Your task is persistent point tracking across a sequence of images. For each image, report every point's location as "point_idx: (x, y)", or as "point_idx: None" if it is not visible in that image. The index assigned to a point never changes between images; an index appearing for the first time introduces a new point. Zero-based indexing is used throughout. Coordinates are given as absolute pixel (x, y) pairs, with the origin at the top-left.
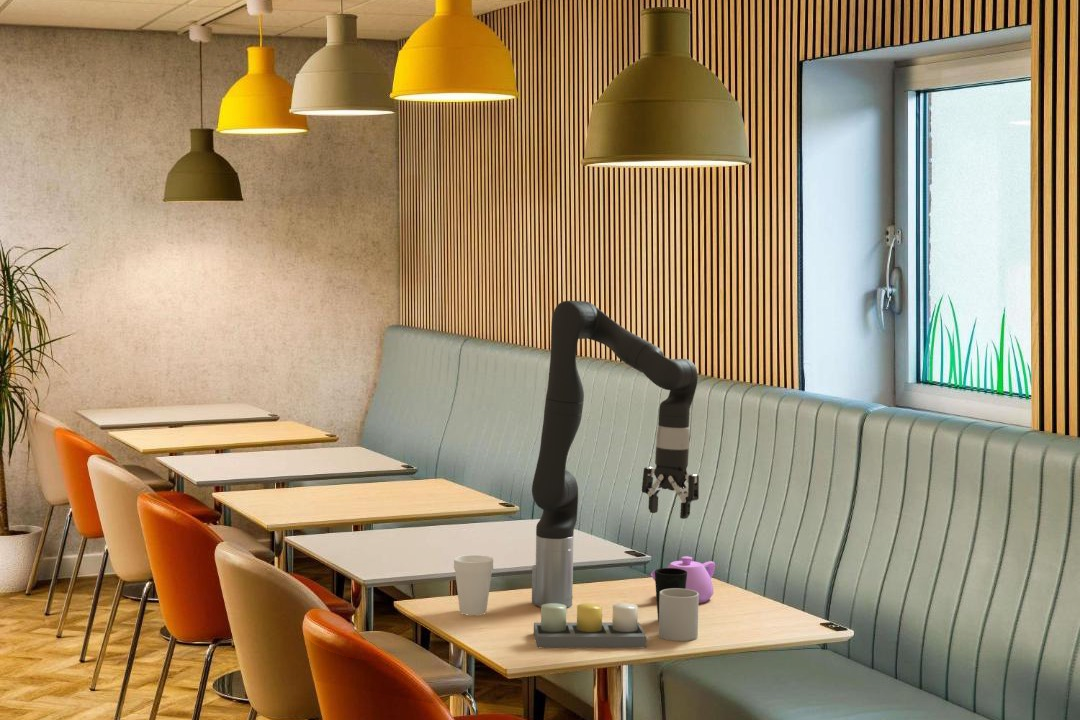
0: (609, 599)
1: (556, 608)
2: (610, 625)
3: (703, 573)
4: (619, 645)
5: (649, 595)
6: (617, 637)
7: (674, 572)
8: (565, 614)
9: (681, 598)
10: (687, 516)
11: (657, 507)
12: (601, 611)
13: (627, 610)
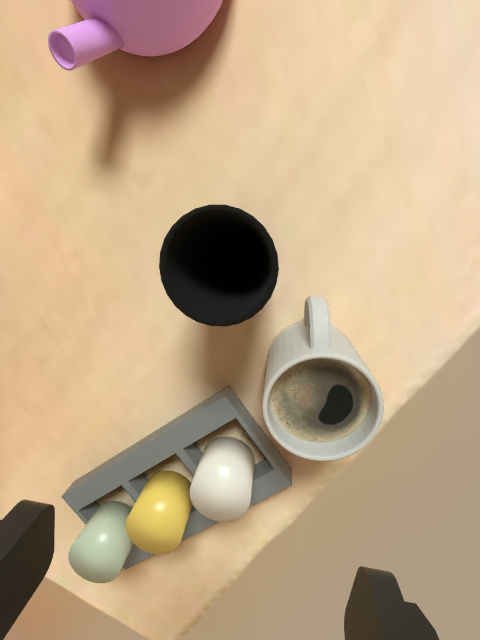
0: (11, 139)
1: (109, 572)
2: (188, 445)
3: None
4: None
5: (58, 15)
6: None
7: (209, 215)
8: (126, 547)
9: (350, 454)
10: (392, 585)
11: (23, 538)
12: (183, 521)
13: (239, 515)
